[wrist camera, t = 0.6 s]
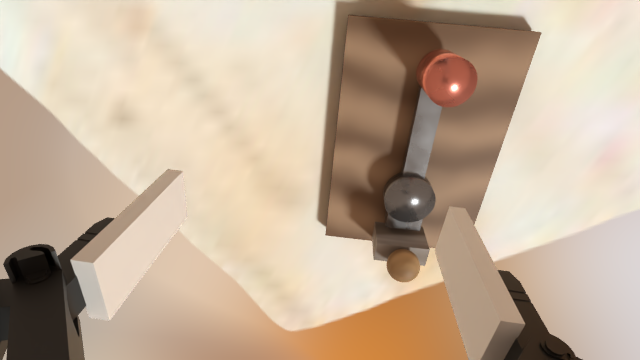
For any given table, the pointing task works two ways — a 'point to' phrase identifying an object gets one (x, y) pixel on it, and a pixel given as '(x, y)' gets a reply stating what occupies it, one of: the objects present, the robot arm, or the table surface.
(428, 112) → the lever
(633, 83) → the table surface
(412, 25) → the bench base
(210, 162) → the table surface
